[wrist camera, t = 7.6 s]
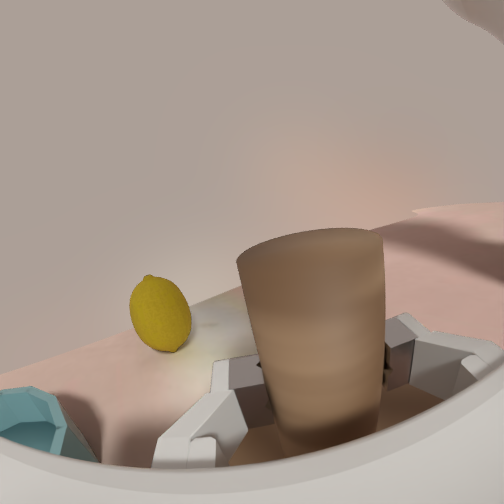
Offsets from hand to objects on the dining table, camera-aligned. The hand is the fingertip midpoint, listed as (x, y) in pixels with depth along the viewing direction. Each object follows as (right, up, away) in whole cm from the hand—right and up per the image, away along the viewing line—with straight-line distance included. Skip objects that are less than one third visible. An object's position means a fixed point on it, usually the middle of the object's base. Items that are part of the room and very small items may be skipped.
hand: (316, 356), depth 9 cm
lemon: (-10, -6, +17) cm, 20 cm away
